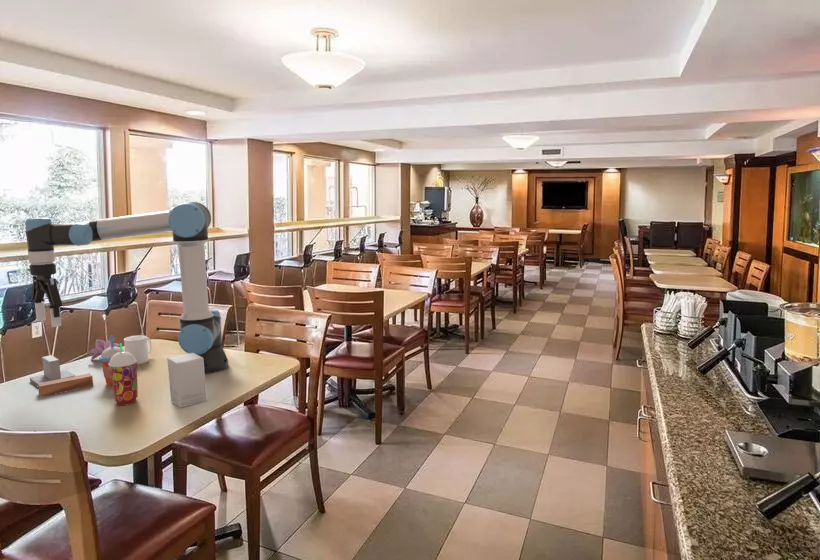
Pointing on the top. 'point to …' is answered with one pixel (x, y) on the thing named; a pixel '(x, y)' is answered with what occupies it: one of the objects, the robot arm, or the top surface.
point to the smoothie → (123, 377)
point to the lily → (101, 347)
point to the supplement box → (187, 379)
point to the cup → (138, 347)
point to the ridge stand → (51, 371)
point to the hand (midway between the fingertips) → (48, 323)
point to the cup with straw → (108, 360)
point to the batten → (65, 384)
